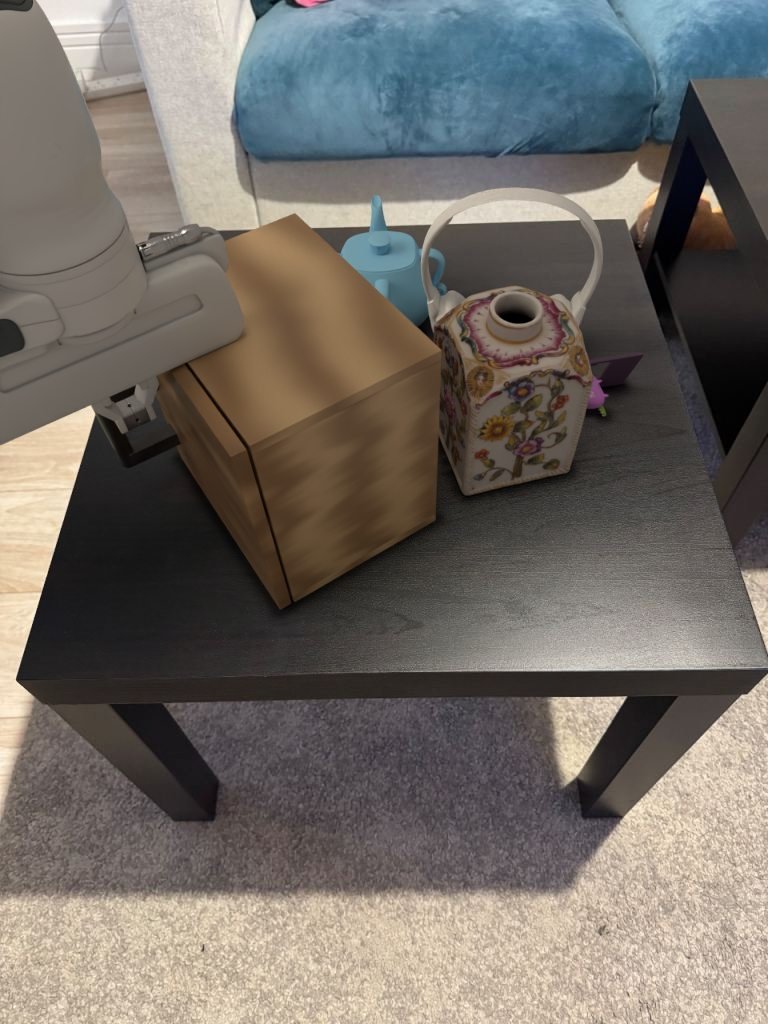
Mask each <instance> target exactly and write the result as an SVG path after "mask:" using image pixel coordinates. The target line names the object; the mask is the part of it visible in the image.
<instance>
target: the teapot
mask: <svg viewBox="0 0 768 1024" xmlns="http://www.w3.org/2000/svg"><path fill="white" fill-rule="evenodd" d="M370 207H371V214H370V215H371V217H370V225H369V230H368V232H363V233H358V234H355V235H352V236H351V237H349V238H348V239H347V240H346V242H344V245H343V247H342V249H341V252H340V253H339V252H337V253H338V254H339V255H340V256H342V257H343V258H344V259H345V260H346V261H347V262H348V263H349V264H350V265H351V266H352V267H353V268H354V269H355V270H357V271H358V272H359V273H360V274H361V275H362V276H363V277H364V278H365V279H366V280H367V281H368V282H369V283H370V284H371V285H373V286H374V287H375V288H376V289H377V290H378V291H379V292H380V293H381V294H382V295H383V296H384V297H385V298H386V299H387V300H389V301H390V302H391V303H392V304H393V305H394V306H395V307H396V308H397V309H398V310H399V311H400V312H401V313H402V314H403V315H405V316H406V317H407V318H408V319H409V320H410V321H411V322H412V323H413V324H414V325H415V326H416V327H417V328H419V327H420V326H421V325H422V324H423V323H424V322H425V320H426V319H427V318H428V317H429V312H428V305H427V296H426V293H425V289H424V286H423V281H422V275H421V256H422V248H420V247H419V245H418V244H417V242H416V241H415V239H414V238H413V237H412V235H410V234H408V233H405V232H401V231H393V230H388V227H387V223H386V220H385V216H384V215H385V214H384V209H383V202H382V199H381V197H380V196H379V195H378V194H374V195H373V196H372V197H371V200H370ZM429 259H433V260H435V261H437V267H436V270H435V273H434V275H433V277H432V278H431V281H432V285H433V286H435V287H436V289H437V290H438V292H439V294H440V297H441V296H443V295H446V293H447V292H448V290H447V289H448V288H447V286H446V285H445V284H444V283H443V282H440V281H441V279H442V277H443V274H444V272H445V268H446V260H445V257H444V255H443V254H442V252H440V251H439V250H438V249H436V248H434V247H431V249H430V253H429Z"/></svg>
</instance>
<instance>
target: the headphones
mask: <svg viewBox="0 0 768 1024" xmlns="http://www.w3.org/2000/svg"><path fill="white" fill-rule="evenodd" d="M504 201H527V202H528V201H529V202H537V203H542V204H547V205H552V206H553V207H558V208H560V209H562V210H564V211H567V212H569V213H570V214H572V215H574V216H576V217H577V218H578V219H579V222H580V224H581V226H582V228H583V229H584V230H585V231H586V232H587V234H588V236H589V237H590V239H591V242H592V246H593V251H594V256H593V257H594V258H593V264H592V267H591V270H590V273H589V276H588V277H587V280H586V282H585V284H584V286H583V287H582V289H581V290H578V291H577V292H576V293H575V294H574V295H573V296H572V298H571V299H570V300H569V299H567V297H565V296H564V295H563V294H561V293H556V294H552V295H550V296H549V297H551V298H553V299H556V300H558V301H561V302H562V303H564V305H565V306H566V307H567V309H568V310H569V311H570V312H571V314H572V315H573V317H574V319H575V321H576V322H577V324H578V327H579V328H580V326H581V324H582V321H583V318H584V316H585V312H586V310H587V304H588V303H589V301H590V299H591V297H592V296H593V294H594V292H595V290H596V288H597V286H598V284H599V282H600V277H601V274H602V270H603V265H604V264H603V263H604V249H603V243H602V238H601V233H600V231H599V228H598V227H597V224H596V221H594V219H593V217H592V216H591V215H590V214H589V212H588V211H586V210H585V209H584V208H583V207H582V206H581V205H580V204H578V203H577V202H575V201H573V200H572V199H570V198H568V197H566V196H564V195H561V194H559V193H556V192H554V191H553V192H552V191H549V190H545V189H540V188H534V187H533V188H532V187H500V188H491V189H486V190H482V191H479V192H475V193H472V194H470V195H467V196H464V197H463V198H461V199H458V200H457V201H456V202H453V203H452V204H450V205H448V207H447V208H445V209H444V210H443V211H442V212H441V213H440V214H439V215H438V216H437V217H436V218H435V220H433V222H432V223H431V225H430V227H429V228H428V231H427V232H426V235H425V238H424V240H423V244H422V248H421V249H422V256H421V275H422V281H423V286H424V289H425V293H426V296H427V305H428V312H429V315H428V317H429V320H430V321H429V322H430V326H431V330H432V333H433V334H434V325H435V323H436V322H437V321H438V320H440V319H441V318H442V317H443V316H444V315H445V314H446V313H448V312H449V311H450V310H451V309H453V308H455V307H456V306H457V305H459V304H460V303H462V302H463V301H464V300H465V299H466V297H464V296H463V294H461V293H460V292H458V291H456V290H449V291H447V292H446V295H443V296H441V297H440V294H439V292H438V291H439V289H436V287H435V286H433V285H432V278H431V274H430V269H429V259H430V258H429V253H430V249H431V248H433V244H434V242H435V240H436V239H437V237H438V236H439V235H440V233H441V232H442V231H443V230H444V229H445V228H446V227H447V226H448V225H449V224H450V223H451V221H452V220H453V218H454V216H456V215H458V214H459V213H462V212H464V211H466V210H468V209H470V208H473V207H477V206H479V205H480V206H481V205H484V204H489V203H494V202H504Z"/></svg>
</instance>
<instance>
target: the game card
mask: <svg viewBox="0 0 768 1024" xmlns="http://www.w3.org/2000/svg"><path fill="white" fill-rule="evenodd" d="M644 356H645V355H644V351H638V352H632V353H631V352H630V353H624V354H618V355H613V356H606V357H599V358H593V359H590V364H591V367H594V366H597V365H598V364H605V363H608V364H607V365H606V367H605V368H604V369H603V371H602V373H601V374H600V375H599V377H598V379H597V377H596V376H595V375H593V378H594V381H593V386H592V389H591V393H590V396H589V400H588V405H587V408H586V410H587V409H588V410H595V409H598V411H600V412H599V414H601V417H606V416H607V413H606V412H607V411H606V409H605V407H604V406H603V405H604V404H605V401H606V398H608V397H609V394H608V393H604V391H603V389H602V388H607V387H611V386H618V385H622V384H624V383H625V381H626V380H627V379H628V377H629V376H630V374H631V373H632V372H633V371H634V369H635V368H636V367H637V365H638V364H639V362H640V361H641V360H642V359H643V357H644Z"/></svg>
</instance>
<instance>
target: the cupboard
mask: <svg viewBox="0 0 768 1024" xmlns="http://www.w3.org/2000/svg"><path fill="white" fill-rule="evenodd" d="M224 242H225V246H226V250H227V254H228V260H229V264H228V268H227V271H226V273H225V274H226V276H227V277H228V279H229V281H230V283H231V285H232V287H233V290H234V292H235V294H236V297H237V299H238V302H239V305H240V308H241V310H242V314H243V317H244V321H245V326H244V329H243V331H242V333H241V335H240V337H239V339H237V340H236V341H234V342H232V343H229V344H227V345H225V346H223V347H220V348H218V349H216V350H214V351H211V352H209V353H207V354H205V355H202V356H200V357H198V358H196V359H193V360H191V361H189V362H187V363H184V364H185V365H186V367H187V368H188V370H189V371H190V372H191V374H192V375H193V376H194V378H195V379H196V380H197V382H198V383H199V385H200V386H201V387H202V389H203V390H204V391H205V393H206V394H207V396H208V397H209V398H210V400H211V401H212V402H213V404H214V405H215V407H216V408H217V409H218V411H219V412H220V413H221V415H222V416H223V418H224V419H225V420H226V422H227V423H228V424H229V426H230V427H231V429H232V430H233V431H234V433H235V434H236V435H237V437H238V438H239V440H240V441H241V442H242V444H243V445H244V446H245V448H246V449H247V453H248V456H249V460H250V463H251V466H252V470H253V473H254V477H255V480H256V483H257V487H258V490H259V494H260V497H261V501H262V504H263V507H264V511H265V514H266V518H267V521H268V524H269V528H270V531H271V535H272V538H273V542H274V545H275V548H276V552H277V555H278V559H279V562H280V566H281V569H282V572H283V576H284V579H285V583H286V586H287V589H288V593H289V596H290V599H291V601H292V602H293V603H296V602H297V601H299V600H301V599H303V598H305V597H306V596H308V595H309V594H310V595H311V593H313V592H315V591H316V590H318V589H320V588H322V587H324V586H325V585H327V584H329V583H331V582H332V581H334V580H335V579H338V578H340V577H341V576H342V575H344V574H346V573H347V572H349V571H351V570H353V569H354V568H357V566H359V565H362V564H363V563H365V562H367V561H368V560H371V558H374V557H375V556H377V555H378V554H380V553H382V552H384V551H385V550H387V549H388V548H391V547H392V546H394V545H396V544H398V543H399V542H401V541H403V540H404V539H406V538H409V536H411V535H413V534H415V533H417V532H418V531H420V530H422V529H424V528H425V527H427V526H429V525H430V524H432V523H433V522H435V521H436V519H437V493H438V492H437V490H438V486H437V485H438V465H439V464H438V463H439V462H438V461H439V460H438V459H439V409H440V381H441V355H442V350H441V349H440V348H439V347H438V346H437V345H435V344H434V343H433V340H431V339H430V337H428V336H427V335H426V334H425V333H424V332H423V331H422V330H421V329H420V328H419V327H416V326H415V325H414V324H413V323H412V322H411V321H410V320H409V319H408V318H407V317H406V316H405V315H403V314H402V313H401V312H400V311H399V310H398V309H397V308H396V307H395V306H394V305H393V304H392V303H391V302H390V301H389V300H387V299H386V298H385V297H384V296H383V295H382V294H381V293H380V292H379V291H378V290H377V289H376V288H375V287H374V286H373V285H371V284H370V283H369V282H368V281H367V280H366V279H365V278H364V277H363V276H362V275H361V274H360V273H359V272H358V271H357V270H355V269H354V268H353V267H352V266H351V265H350V264H349V263H348V262H347V261H346V260H345V259H344V258H343V257H342V256H340V255H339V254H338V253H339V252H338V251H337V250H336V249H334V247H332V246H331V245H330V244H329V243H328V242H327V241H326V240H325V239H323V238H322V237H321V236H320V234H319V233H317V232H316V231H315V230H314V229H313V228H312V227H311V226H310V225H309V224H307V222H305V221H304V220H303V219H302V218H301V217H300V216H299V215H298V214H297V213H296V212H294V213H291V214H288V215H287V216H284V217H282V218H279V219H277V220H274V221H272V222H268V223H266V224H264V225H262V226H259V227H257V228H254V229H251V230H249V231H246V232H244V233H241V234H239V235H237V236H234V237H231V238H228V239H226V240H224Z"/></svg>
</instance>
